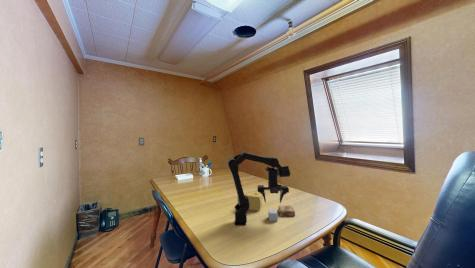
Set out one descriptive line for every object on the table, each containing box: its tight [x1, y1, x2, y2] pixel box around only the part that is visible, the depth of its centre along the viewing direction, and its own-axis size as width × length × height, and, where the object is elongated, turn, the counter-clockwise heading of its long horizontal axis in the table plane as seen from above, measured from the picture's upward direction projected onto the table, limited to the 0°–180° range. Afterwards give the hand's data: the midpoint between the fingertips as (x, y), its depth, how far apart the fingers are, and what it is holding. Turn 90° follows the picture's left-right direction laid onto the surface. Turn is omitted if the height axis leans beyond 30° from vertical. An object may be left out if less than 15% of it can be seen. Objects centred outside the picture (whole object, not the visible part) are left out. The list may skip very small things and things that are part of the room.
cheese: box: [245, 191, 264, 212], centre depth 137 cm, size 10×11×10 cm
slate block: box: [267, 209, 279, 222], centre depth 119 cm, size 5×5×5 cm
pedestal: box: [278, 205, 296, 217], centre depth 128 cm, size 9×9×3 cm
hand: (272, 202), depth 119 cm, fingers open, 9 cm apart
